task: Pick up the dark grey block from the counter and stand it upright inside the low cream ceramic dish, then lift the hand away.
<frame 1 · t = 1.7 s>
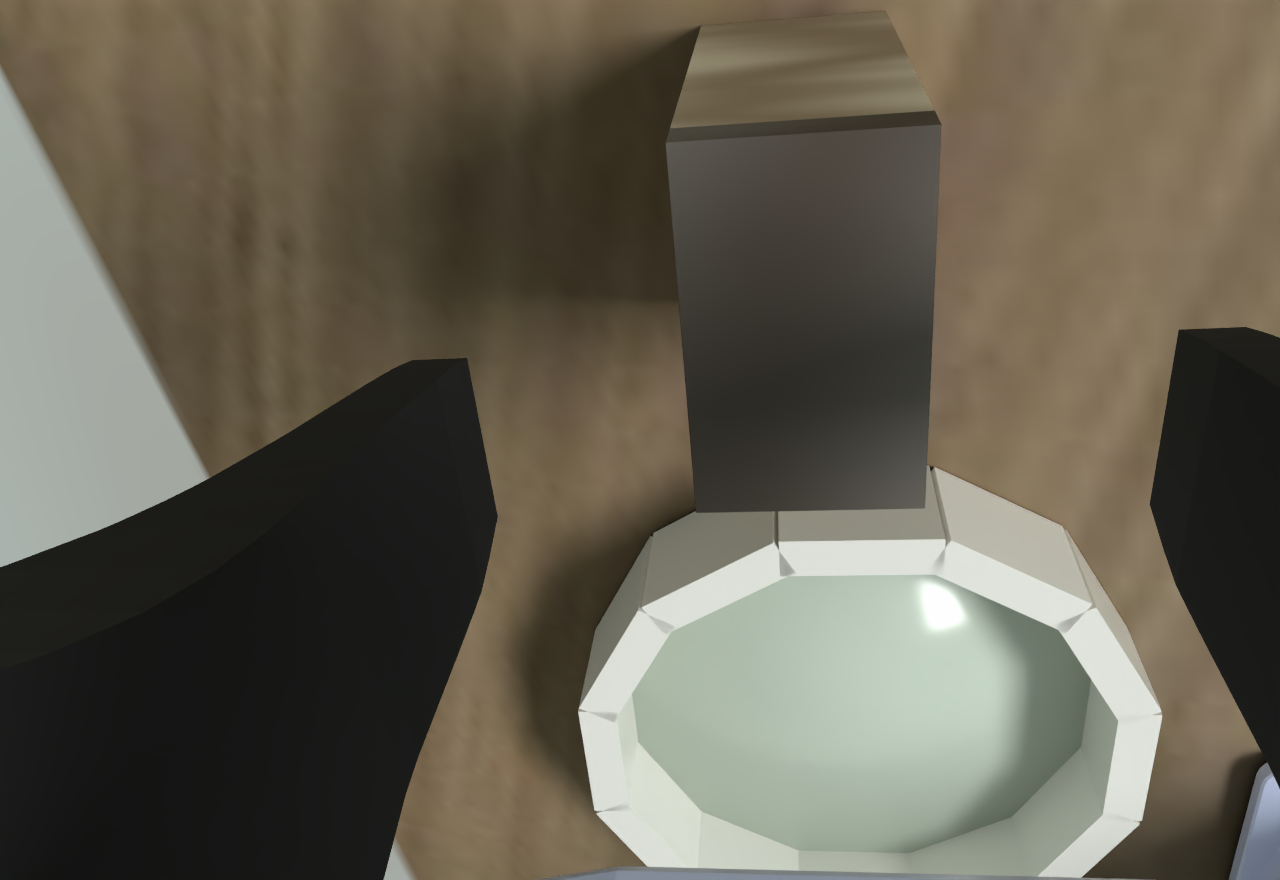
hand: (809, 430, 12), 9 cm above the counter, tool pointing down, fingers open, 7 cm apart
dish: (852, 682, 25), on the counter
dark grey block: (795, 168, 19), on the counter
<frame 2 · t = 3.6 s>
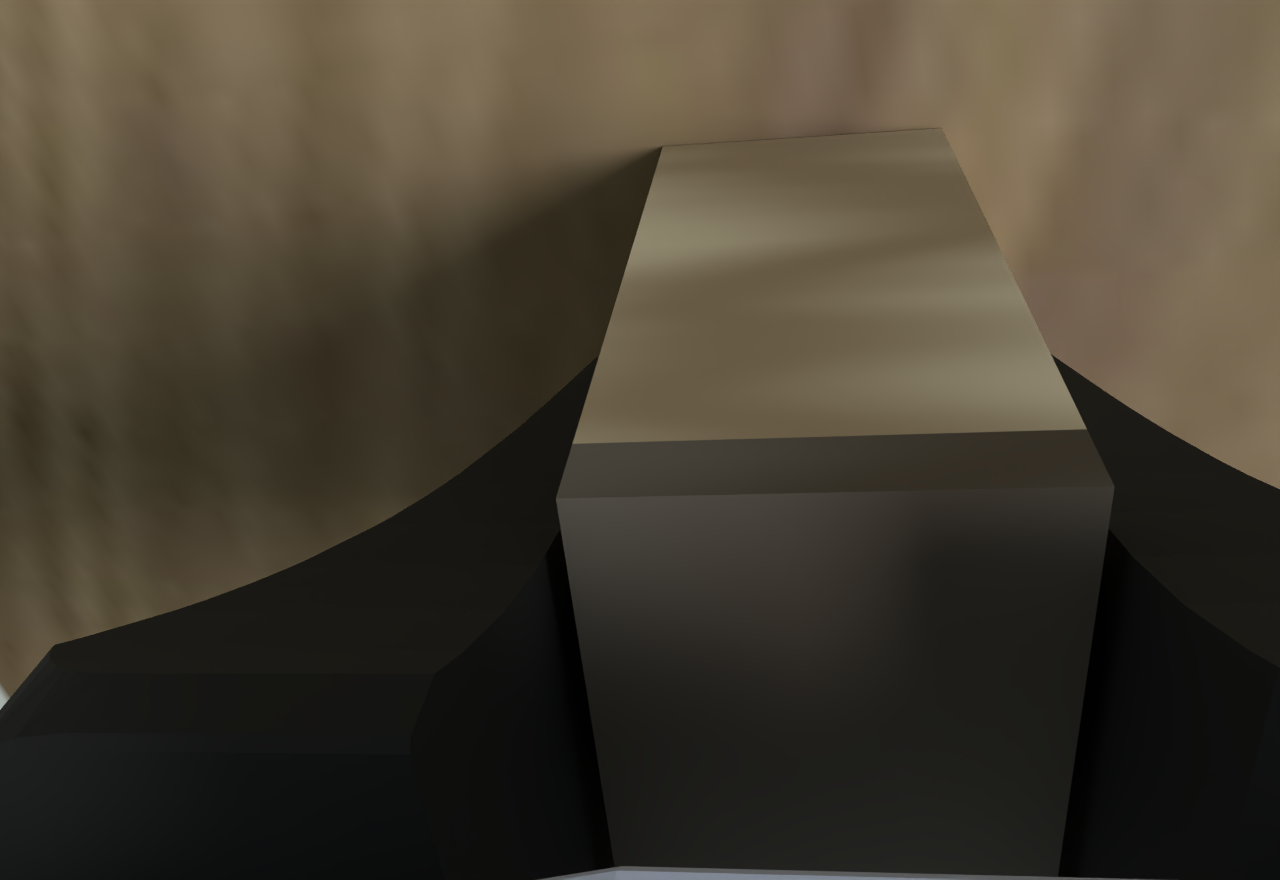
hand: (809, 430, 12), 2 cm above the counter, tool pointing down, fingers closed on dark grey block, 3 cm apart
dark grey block: (804, 345, 13), on the counter, touching gripper
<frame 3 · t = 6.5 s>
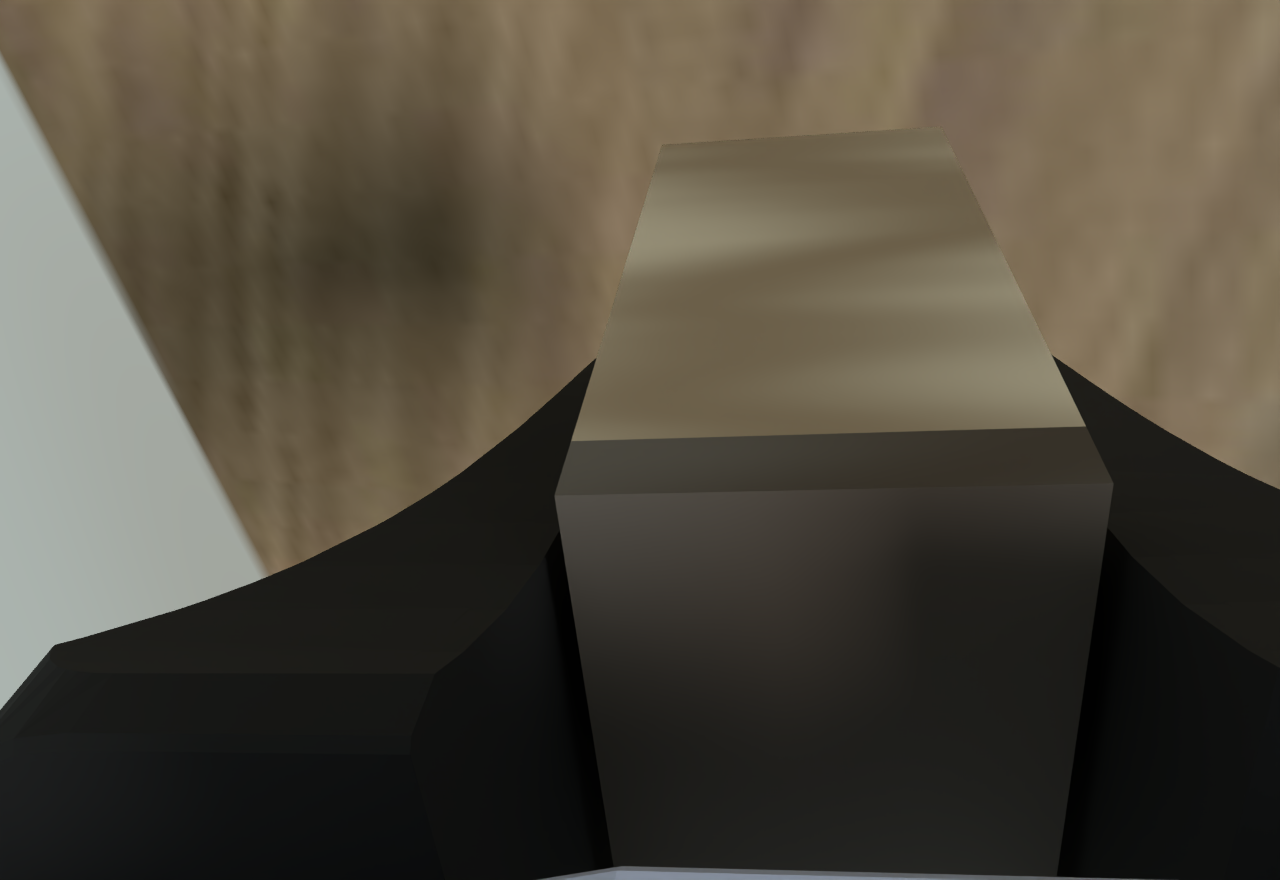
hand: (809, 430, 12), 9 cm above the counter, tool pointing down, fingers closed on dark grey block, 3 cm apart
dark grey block: (803, 343, 13), point 7 cm above the counter, touching gripper
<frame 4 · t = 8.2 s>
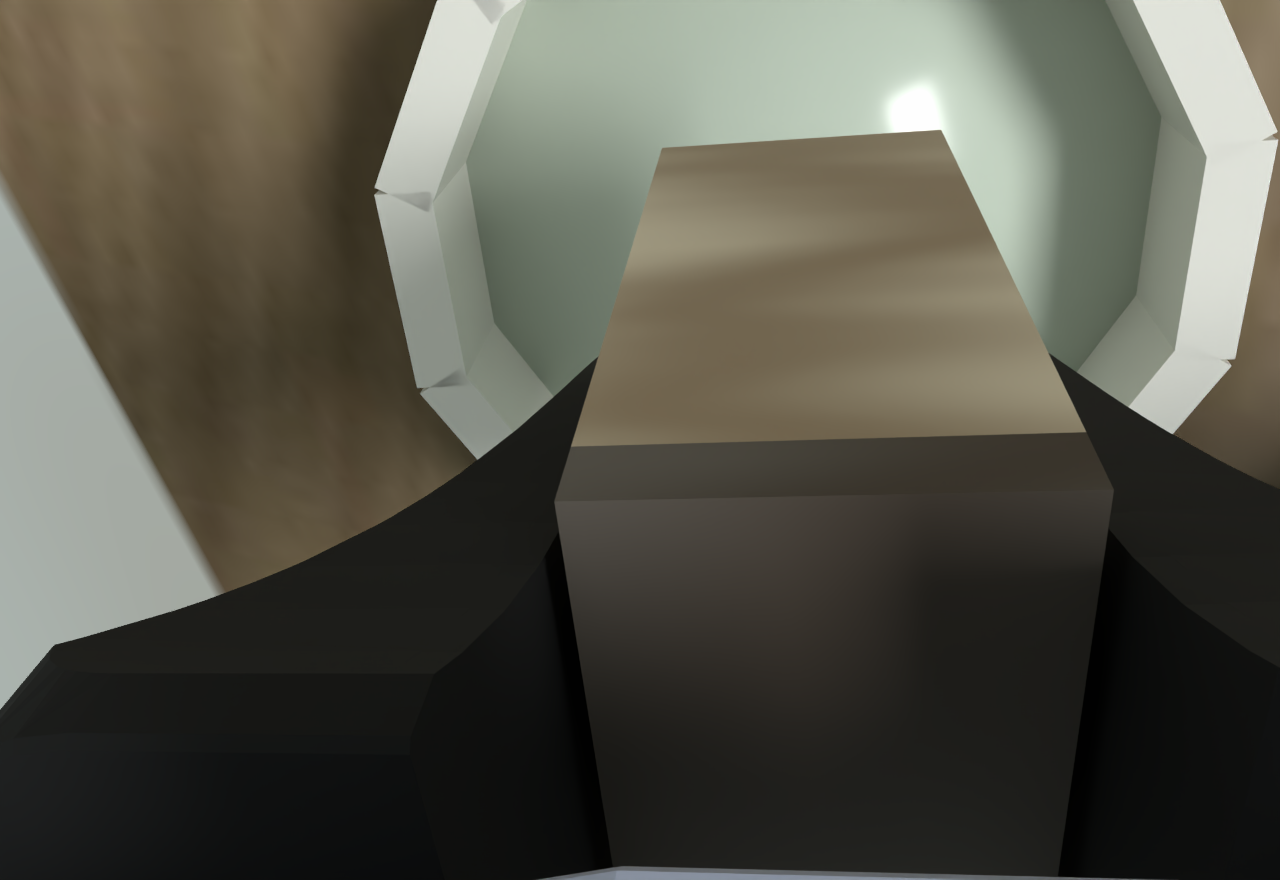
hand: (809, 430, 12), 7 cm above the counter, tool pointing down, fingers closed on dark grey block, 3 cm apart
dish: (799, 215, 17), on the counter
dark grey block: (803, 346, 13), point 5 cm above the counter, touching gripper
when the fingers open (4 cm above the counter, at t = 9.6 s): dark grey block stays where it is, resting on dish.
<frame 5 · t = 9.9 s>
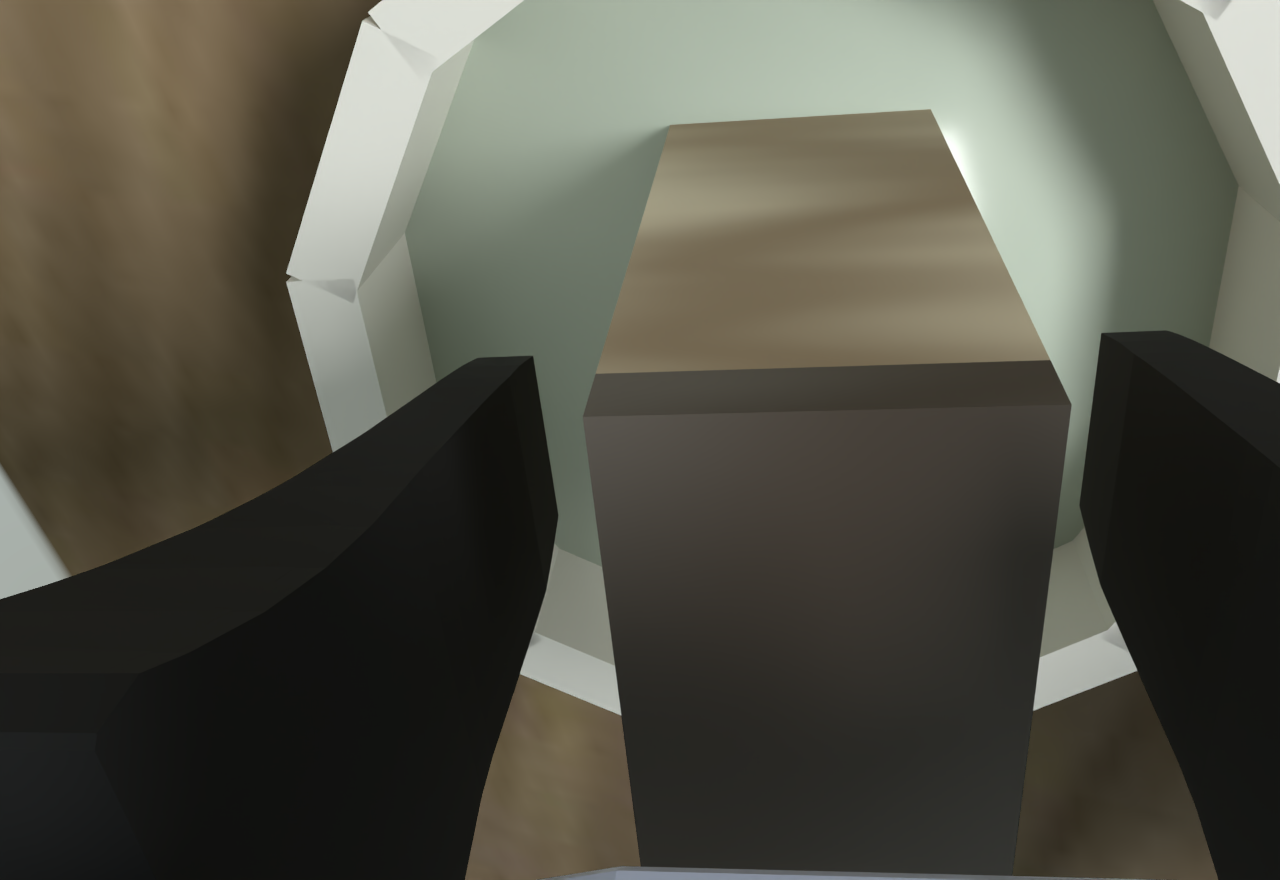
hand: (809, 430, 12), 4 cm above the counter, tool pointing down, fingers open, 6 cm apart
dish: (801, 293, 15), on the counter
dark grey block: (801, 314, 14), point 1 cm above the counter, touching dish
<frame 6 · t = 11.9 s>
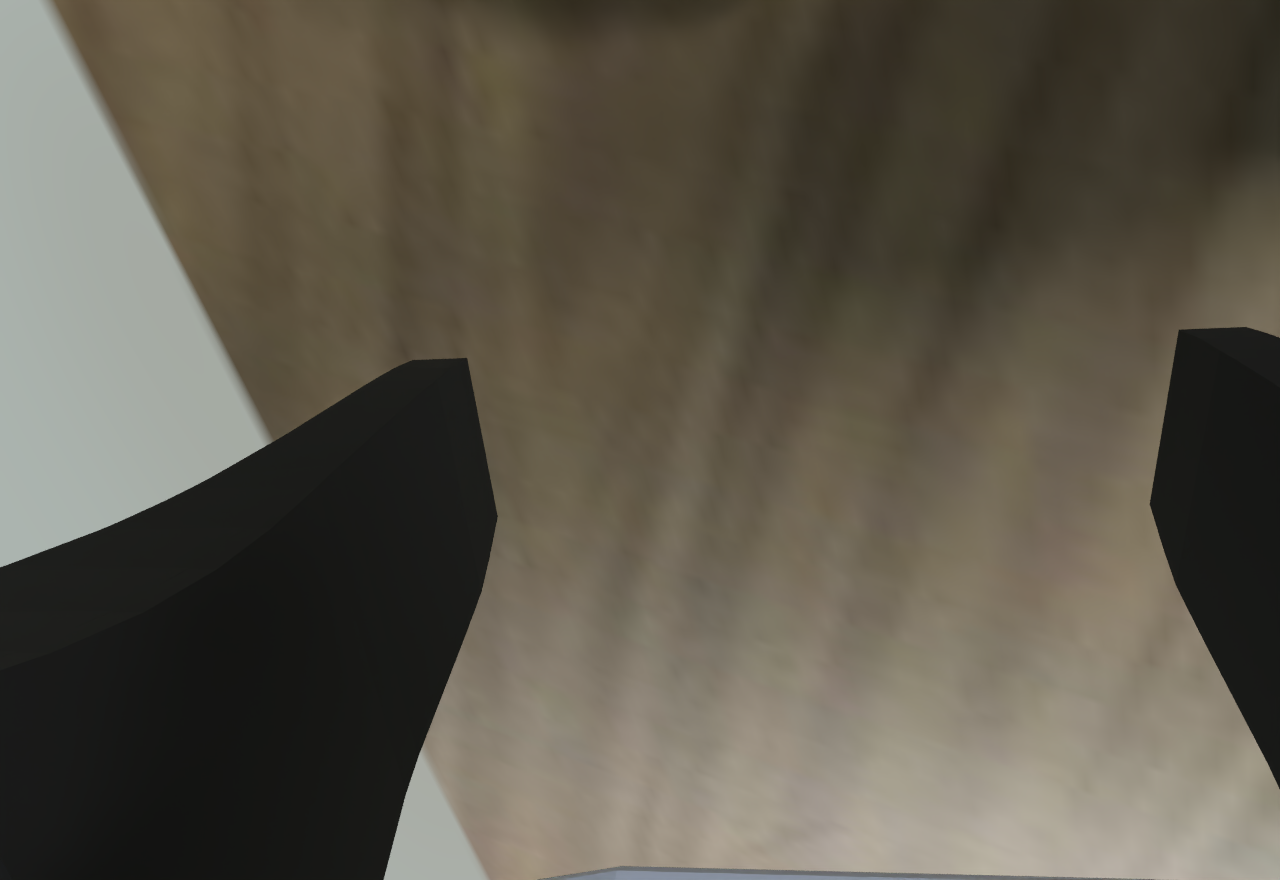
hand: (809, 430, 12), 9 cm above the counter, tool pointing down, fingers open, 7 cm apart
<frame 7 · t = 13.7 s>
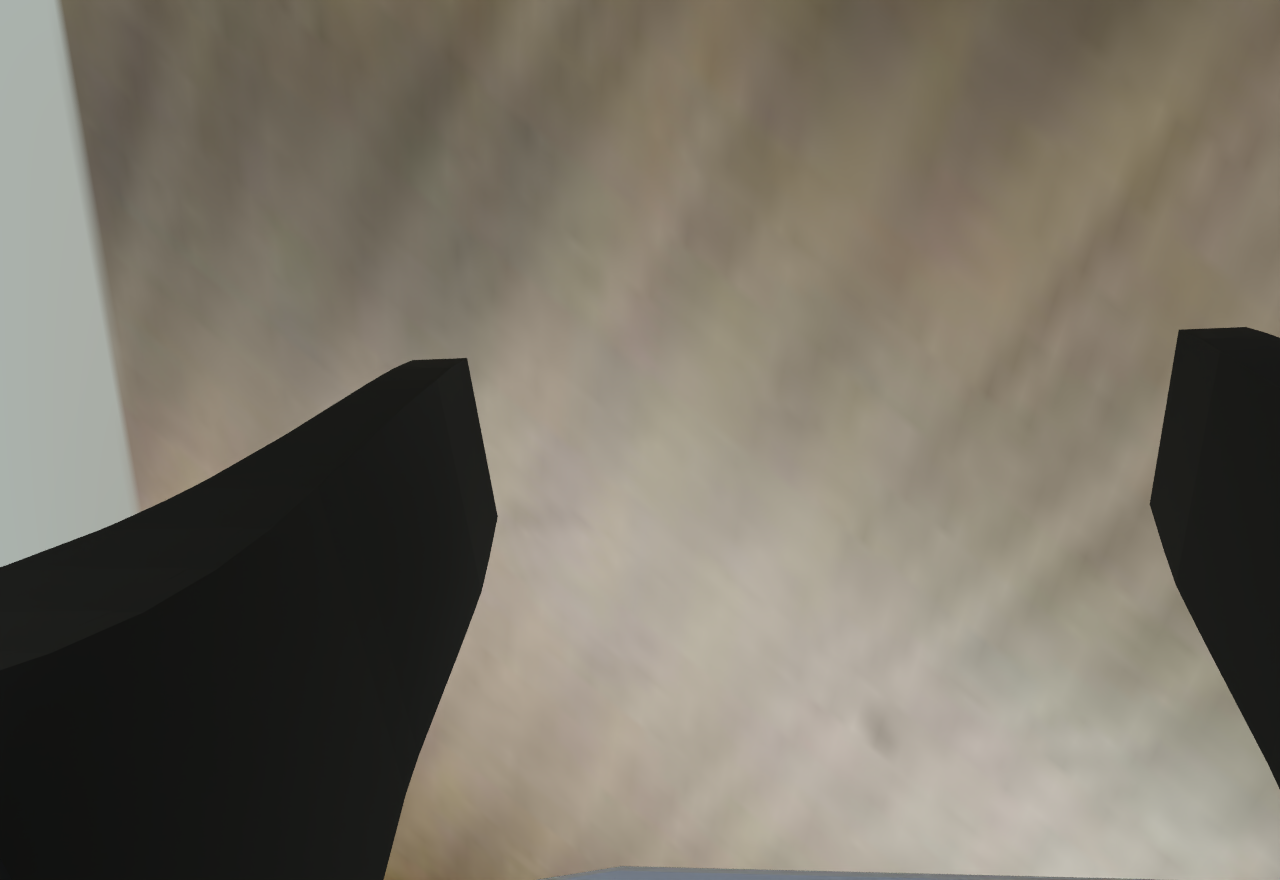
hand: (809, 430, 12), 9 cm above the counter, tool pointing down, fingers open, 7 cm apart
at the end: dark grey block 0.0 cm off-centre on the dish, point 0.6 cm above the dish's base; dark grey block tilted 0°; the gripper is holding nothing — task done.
